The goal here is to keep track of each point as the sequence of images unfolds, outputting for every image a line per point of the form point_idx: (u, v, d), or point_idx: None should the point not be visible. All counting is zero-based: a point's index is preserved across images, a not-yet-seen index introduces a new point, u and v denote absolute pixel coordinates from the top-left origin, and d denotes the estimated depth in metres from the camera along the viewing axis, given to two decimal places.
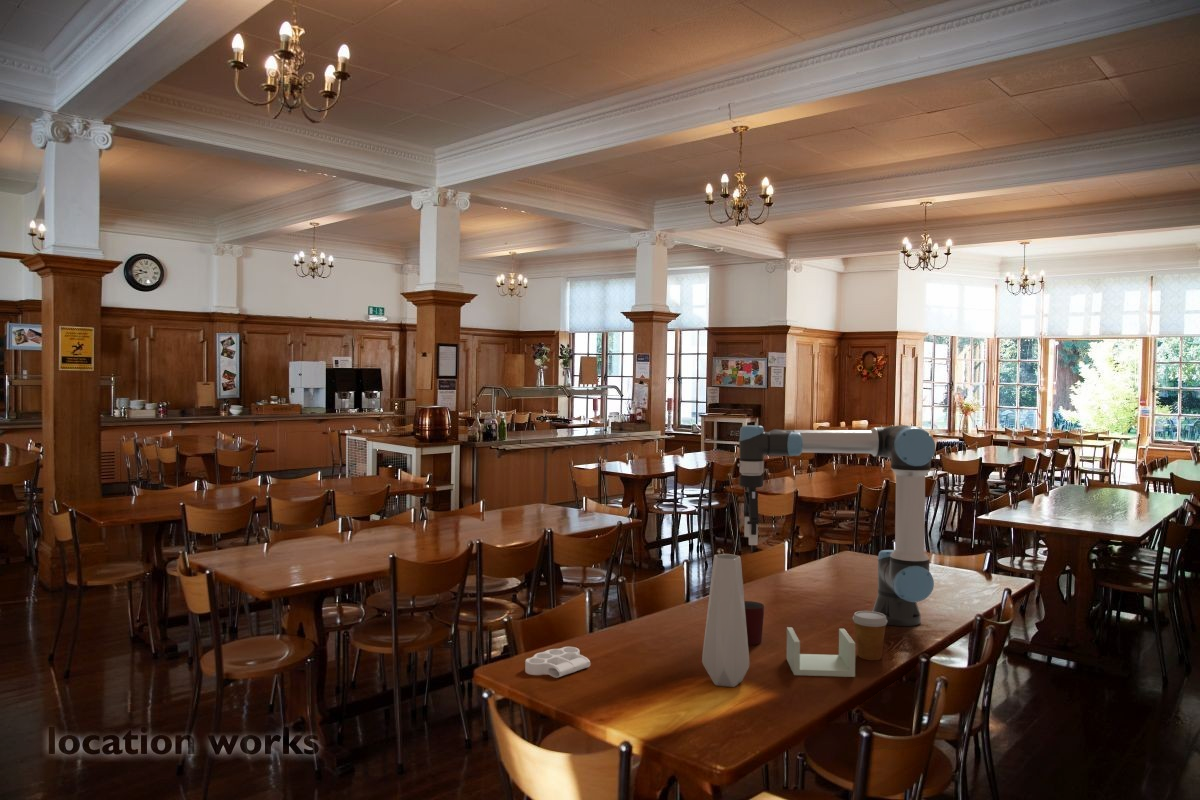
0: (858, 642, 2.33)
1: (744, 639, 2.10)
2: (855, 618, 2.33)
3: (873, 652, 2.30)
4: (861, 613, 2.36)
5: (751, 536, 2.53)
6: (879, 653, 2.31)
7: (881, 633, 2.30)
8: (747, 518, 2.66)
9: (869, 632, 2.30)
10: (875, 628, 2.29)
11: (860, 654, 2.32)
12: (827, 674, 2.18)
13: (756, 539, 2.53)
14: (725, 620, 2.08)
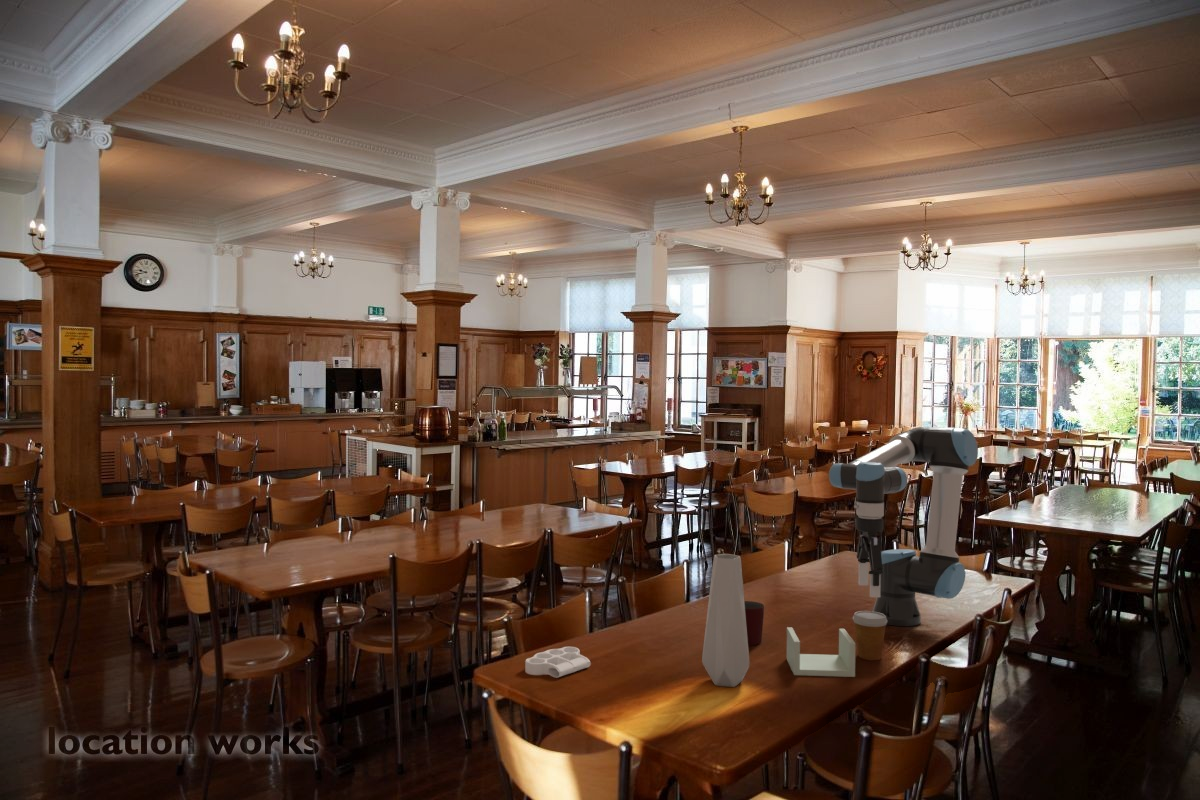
0: (858, 642, 2.33)
1: (744, 639, 2.10)
2: (855, 618, 2.33)
3: (873, 652, 2.30)
4: (861, 613, 2.36)
5: (873, 587, 2.26)
6: (879, 653, 2.31)
7: (881, 633, 2.30)
8: (862, 564, 2.40)
9: (869, 632, 2.30)
10: (875, 628, 2.29)
11: (860, 654, 2.32)
12: (827, 674, 2.18)
13: (878, 591, 2.26)
14: (725, 620, 2.08)
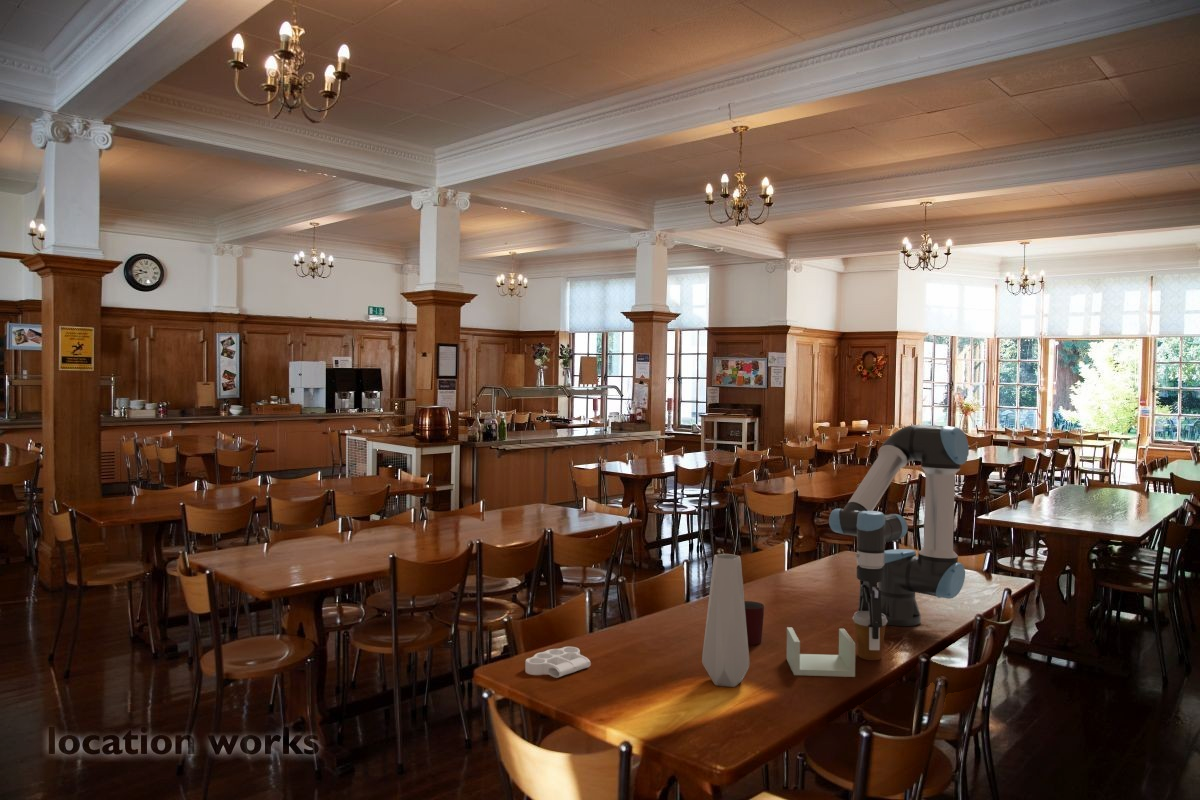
0: (858, 642, 2.33)
1: (744, 639, 2.10)
2: (855, 618, 2.33)
3: (873, 652, 2.30)
4: (861, 613, 2.36)
5: (872, 640, 2.28)
6: (879, 653, 2.31)
7: (881, 633, 2.30)
8: None
9: None
10: None
11: (860, 654, 2.32)
12: (827, 674, 2.18)
13: (878, 644, 2.28)
14: (725, 620, 2.08)
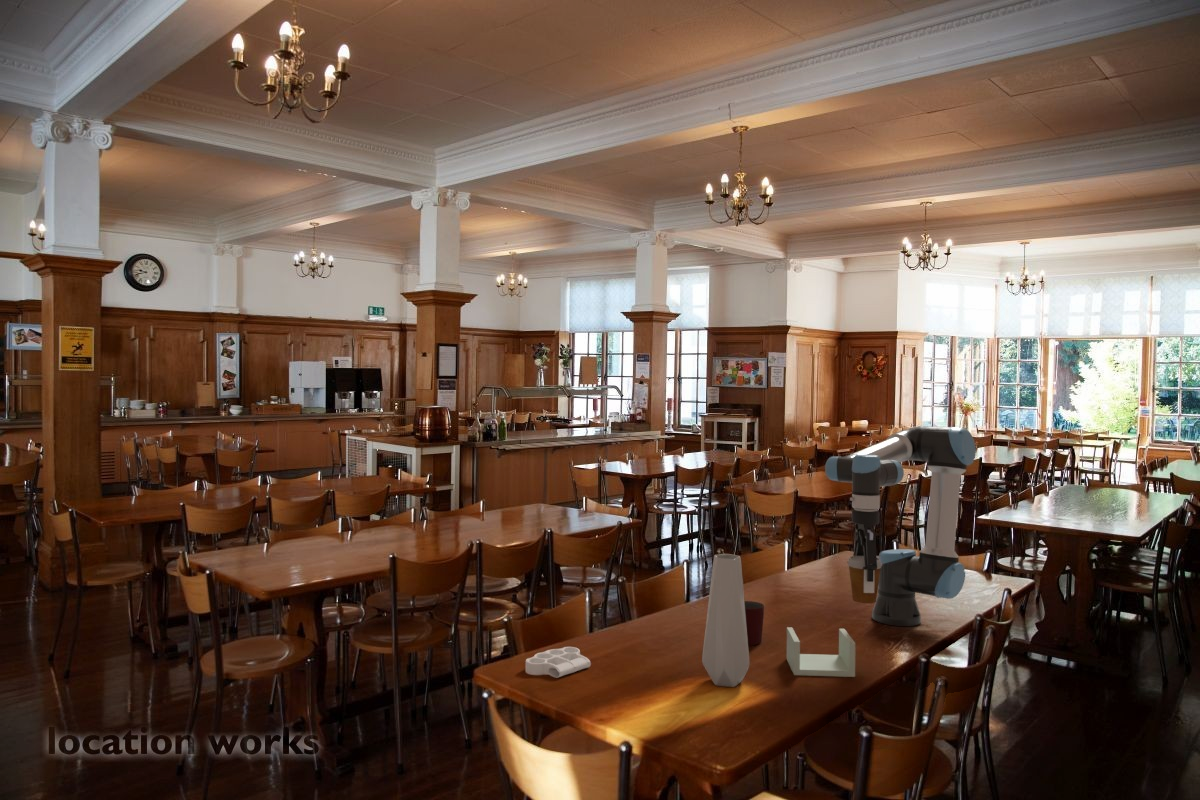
0: (853, 586, 2.31)
1: (744, 639, 2.10)
2: (850, 562, 2.31)
3: (868, 595, 2.29)
4: (856, 558, 2.35)
5: (867, 583, 2.27)
6: (874, 596, 2.29)
7: (876, 576, 2.29)
8: None
9: None
10: None
11: (855, 598, 2.31)
12: (827, 674, 2.18)
13: (872, 586, 2.27)
14: (725, 620, 2.08)
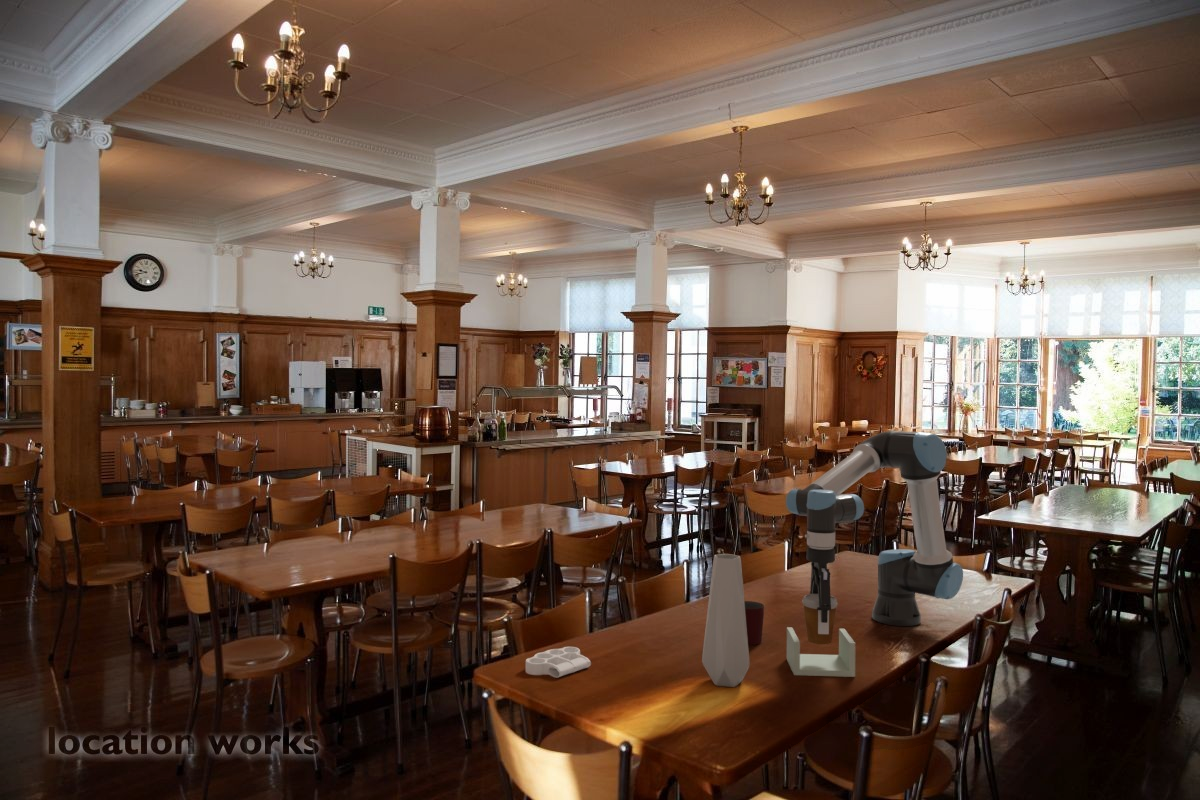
0: (807, 626, 2.23)
1: (744, 639, 2.10)
2: (804, 601, 2.23)
3: (823, 636, 2.21)
4: (811, 596, 2.27)
5: (821, 624, 2.19)
6: (829, 637, 2.22)
7: (830, 616, 2.21)
8: None
9: None
10: None
11: (809, 638, 2.23)
12: (827, 674, 2.18)
13: (827, 627, 2.19)
14: (725, 620, 2.08)
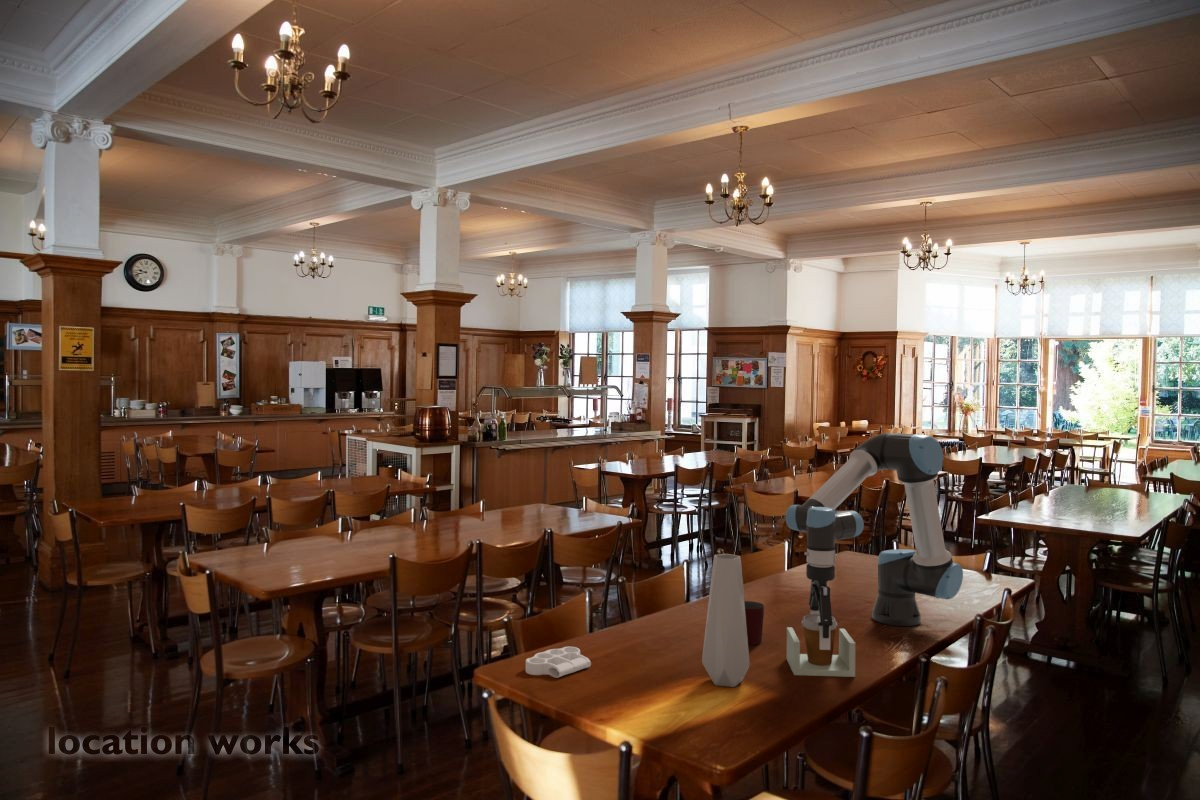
0: (807, 647, 2.24)
1: (744, 639, 2.10)
2: (804, 622, 2.24)
3: (823, 657, 2.21)
4: (811, 616, 2.27)
5: (822, 639, 2.17)
6: (829, 658, 2.22)
7: (830, 637, 2.21)
8: (814, 612, 2.31)
9: (818, 636, 2.21)
10: None
11: (810, 659, 2.23)
12: (827, 674, 2.18)
13: (828, 643, 2.17)
14: (725, 620, 2.08)
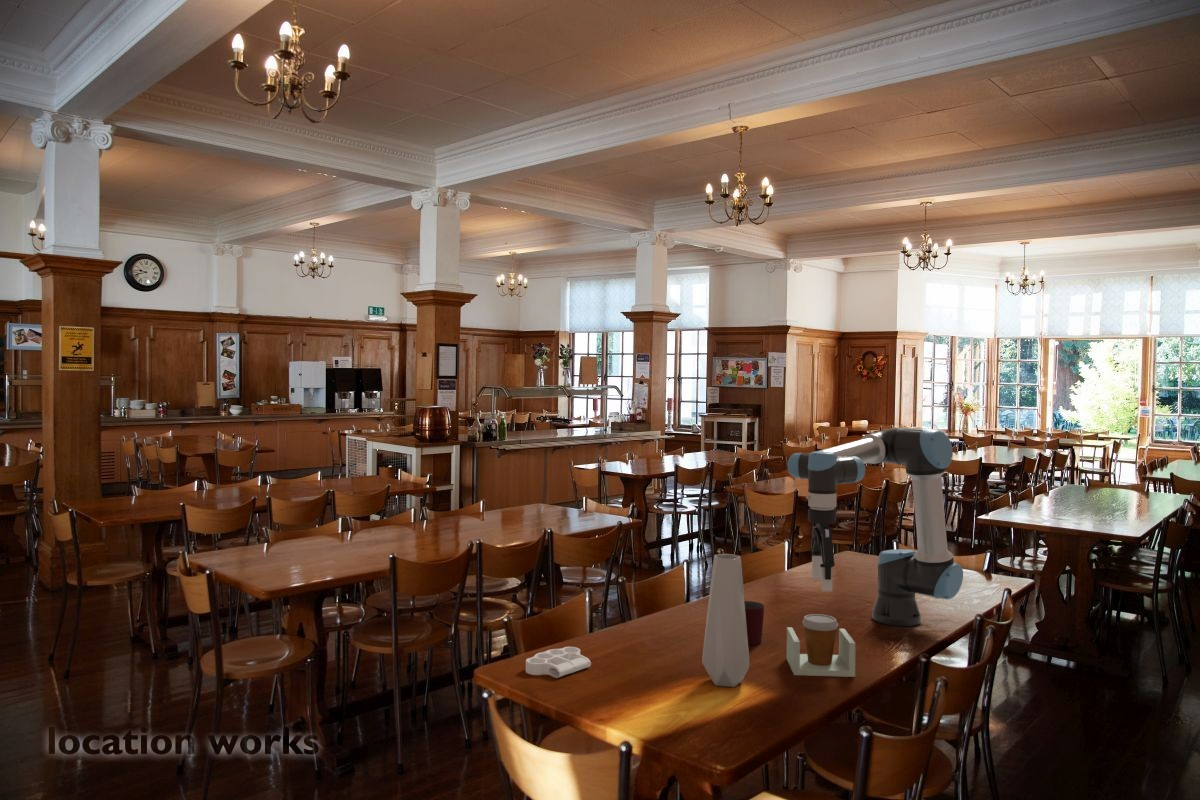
0: (808, 647, 2.24)
1: (744, 639, 2.10)
2: (805, 622, 2.24)
3: (823, 657, 2.21)
4: (811, 617, 2.27)
5: (825, 581, 2.18)
6: (829, 658, 2.22)
7: (831, 638, 2.21)
8: (815, 557, 2.32)
9: (819, 636, 2.21)
10: (825, 632, 2.20)
11: (810, 659, 2.23)
12: (827, 674, 2.18)
13: (830, 584, 2.18)
14: (725, 620, 2.08)
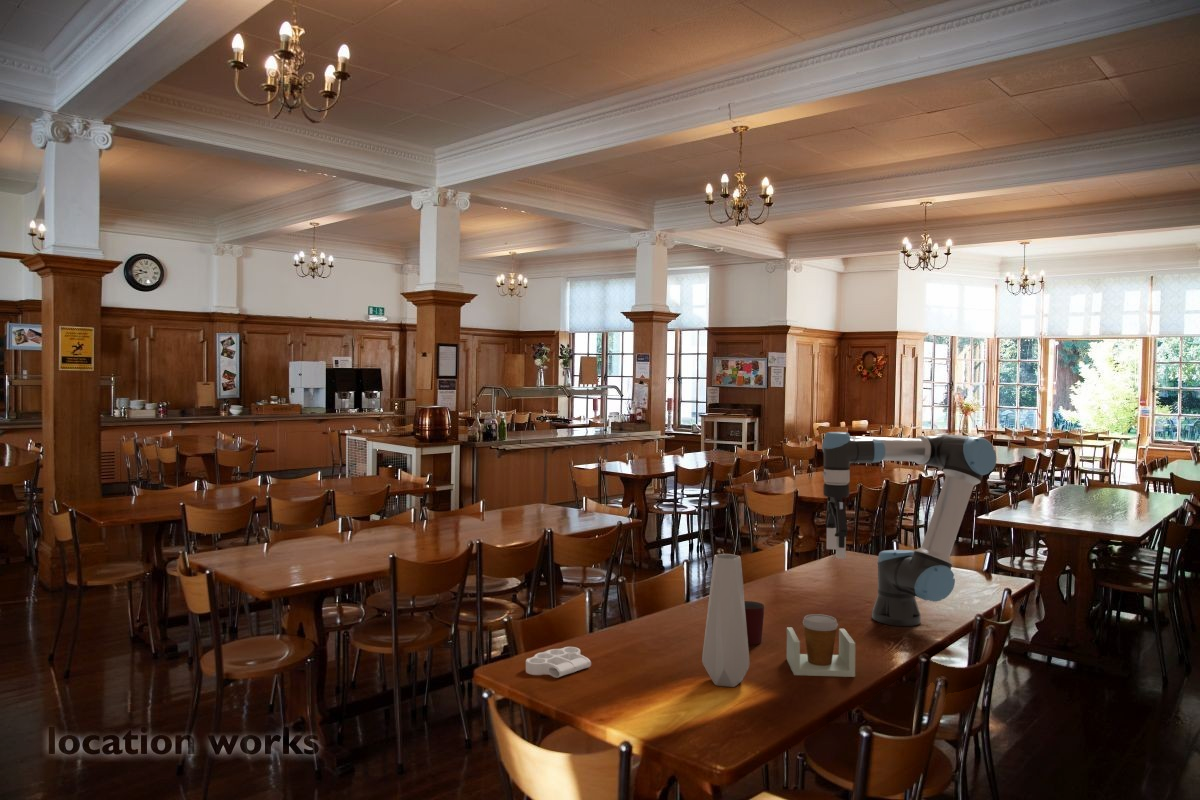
0: (808, 647, 2.24)
1: (744, 639, 2.10)
2: (804, 622, 2.24)
3: (823, 657, 2.21)
4: (811, 617, 2.27)
5: (839, 549, 2.40)
6: (829, 658, 2.22)
7: (831, 638, 2.21)
8: (830, 529, 2.53)
9: (819, 636, 2.21)
10: (825, 632, 2.20)
11: (810, 659, 2.23)
12: (827, 674, 2.18)
13: (844, 552, 2.39)
14: (725, 620, 2.08)
